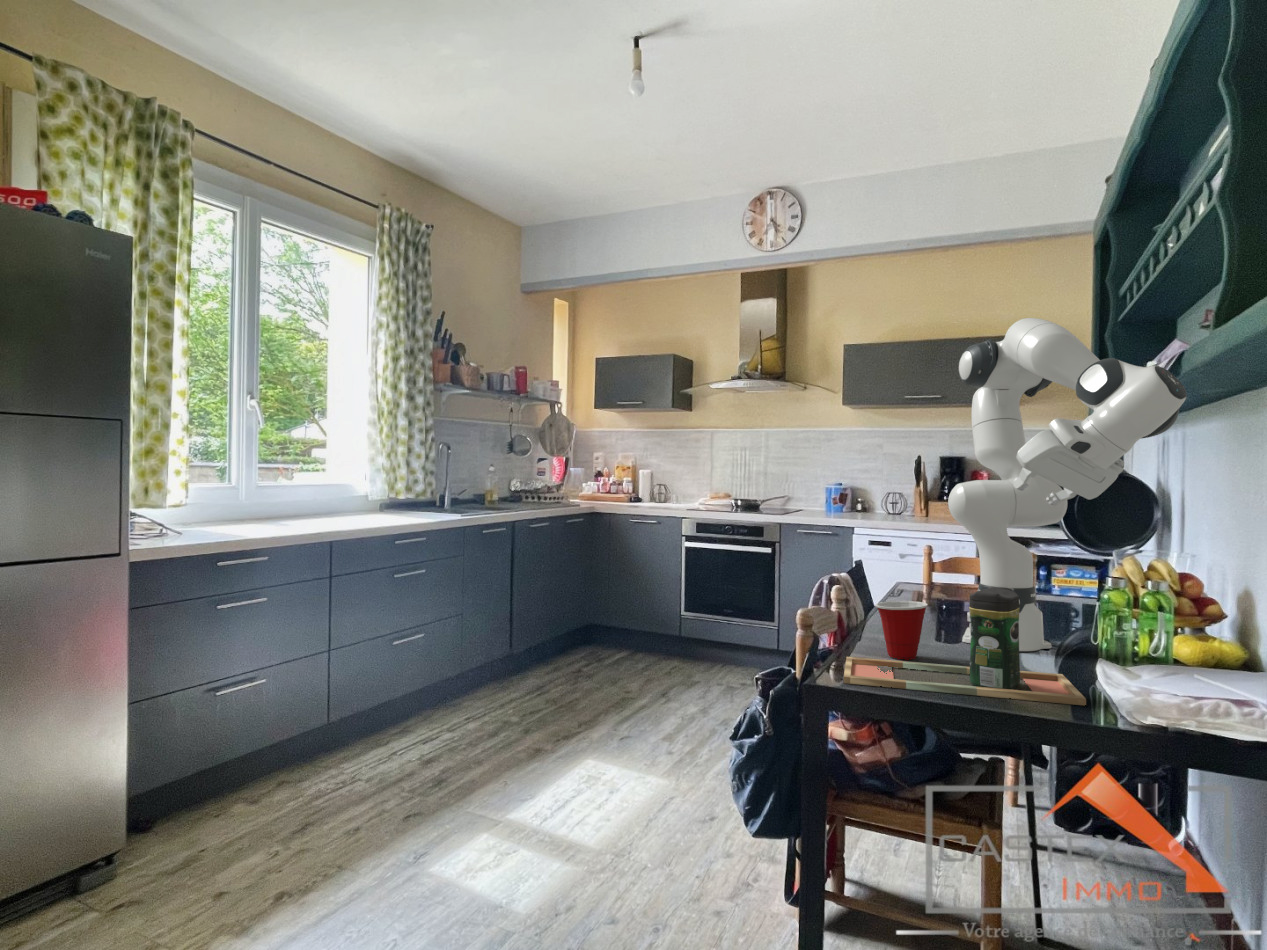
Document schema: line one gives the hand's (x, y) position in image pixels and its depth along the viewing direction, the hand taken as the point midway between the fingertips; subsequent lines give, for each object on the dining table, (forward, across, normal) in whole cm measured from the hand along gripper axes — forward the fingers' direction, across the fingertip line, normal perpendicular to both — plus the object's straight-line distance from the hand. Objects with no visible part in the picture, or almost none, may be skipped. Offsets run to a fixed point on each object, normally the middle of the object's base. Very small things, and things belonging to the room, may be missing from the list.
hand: (1033, 495), depth 136 cm
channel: (+32, +1, +22) cm, 39 cm away
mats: (+32, +1, +22) cm, 39 cm away
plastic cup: (+44, -3, +8) cm, 45 cm away
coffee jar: (+28, -4, +25) cm, 37 cm away
